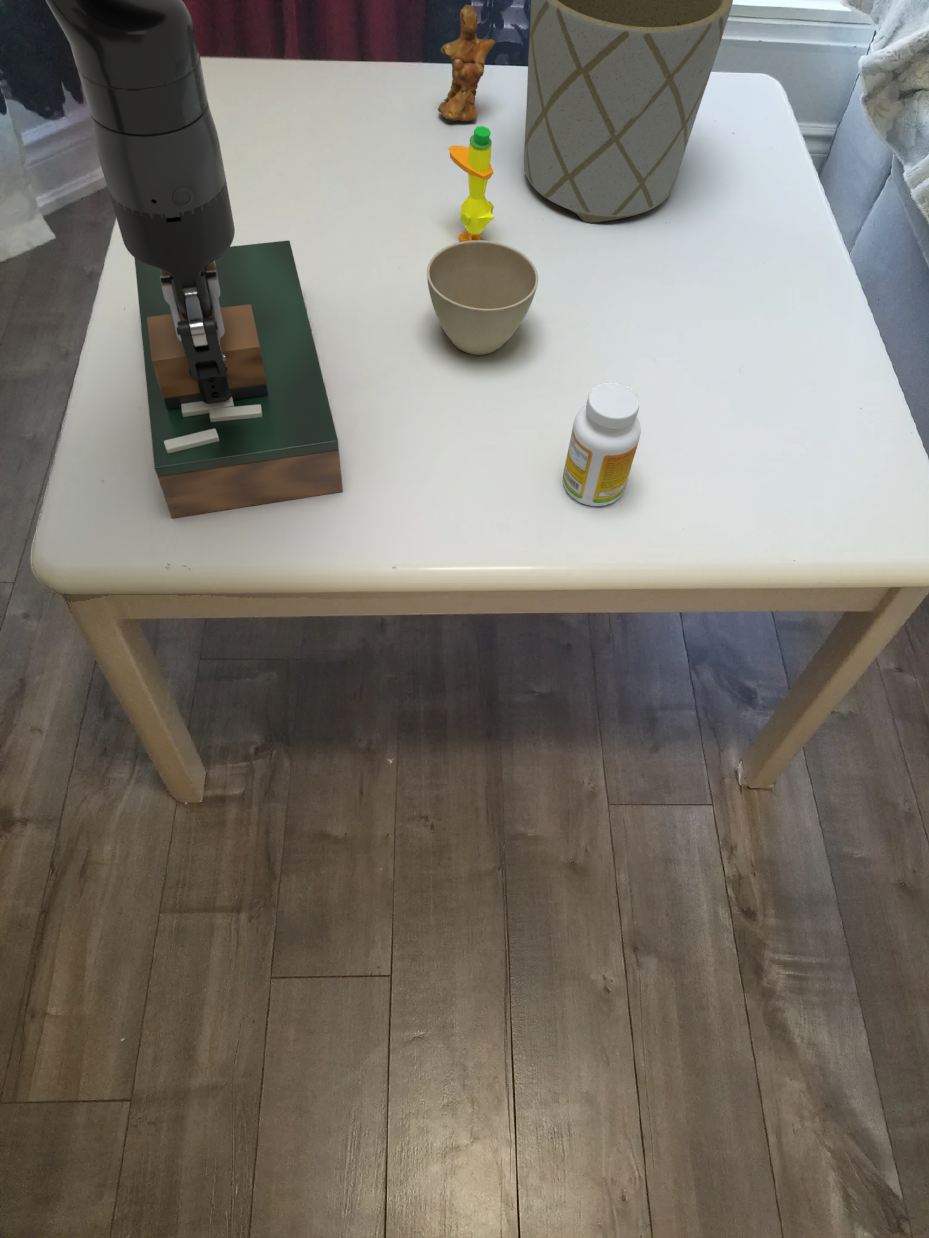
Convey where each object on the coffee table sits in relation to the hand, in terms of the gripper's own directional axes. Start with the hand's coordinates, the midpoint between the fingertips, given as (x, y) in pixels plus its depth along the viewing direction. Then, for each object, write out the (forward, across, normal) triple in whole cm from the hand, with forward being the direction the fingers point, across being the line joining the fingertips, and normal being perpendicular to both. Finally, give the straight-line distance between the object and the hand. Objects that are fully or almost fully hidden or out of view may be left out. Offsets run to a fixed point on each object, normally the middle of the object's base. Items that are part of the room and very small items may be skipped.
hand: (212, 374), depth 73 cm
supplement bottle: (+7, +12, +30) cm, 33 cm away
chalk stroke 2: (+1, +6, -2) cm, 7 cm away
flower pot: (+7, -8, +25) cm, 27 cm away
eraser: (+1, 0, 0) cm, 1 cm away
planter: (+7, -31, +45) cm, 55 cm away
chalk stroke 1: (+1, +3, -1) cm, 3 cm away
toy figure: (+7, -23, +28) cm, 37 cm away
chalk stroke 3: (+1, +4, +1) cm, 4 cm away
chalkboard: (+7, -5, +2) cm, 8 cm away
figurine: (+7, -46, +33) cm, 57 cm away
